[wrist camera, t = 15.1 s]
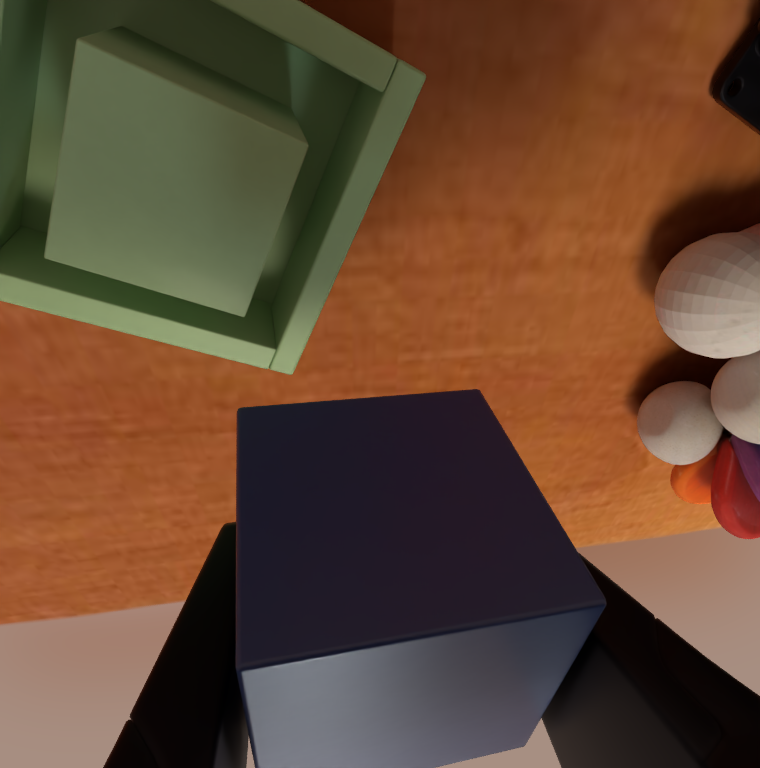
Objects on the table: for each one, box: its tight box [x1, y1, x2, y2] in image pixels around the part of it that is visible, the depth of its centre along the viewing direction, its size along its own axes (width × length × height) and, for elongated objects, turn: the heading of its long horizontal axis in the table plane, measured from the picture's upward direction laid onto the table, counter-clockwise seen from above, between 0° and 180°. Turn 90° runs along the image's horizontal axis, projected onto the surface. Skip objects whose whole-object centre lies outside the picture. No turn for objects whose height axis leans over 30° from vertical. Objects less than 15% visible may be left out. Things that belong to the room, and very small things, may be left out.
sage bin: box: [0, 0, 426, 375], centre depth 14 cm, size 9×9×4 cm
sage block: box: [44, 26, 309, 317], centre depth 13 cm, size 4×4×4 cm
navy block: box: [235, 389, 606, 768], centre depth 9 cm, size 4×4×4 cm
